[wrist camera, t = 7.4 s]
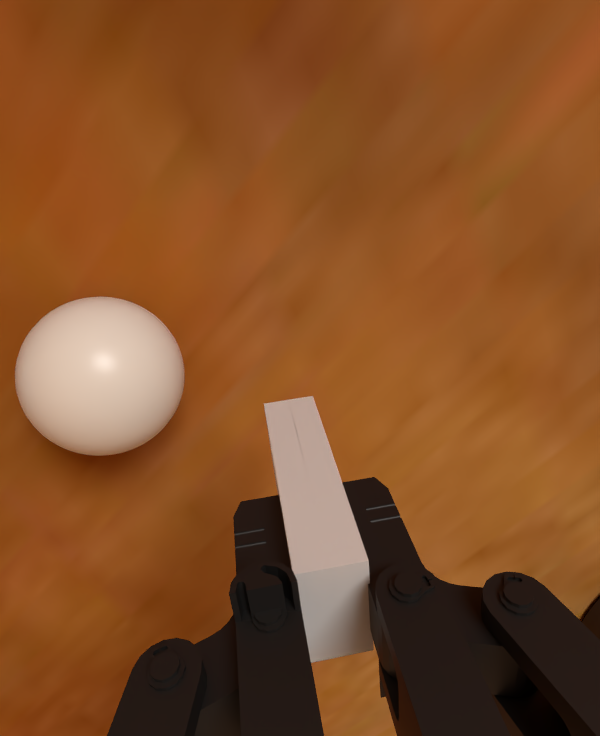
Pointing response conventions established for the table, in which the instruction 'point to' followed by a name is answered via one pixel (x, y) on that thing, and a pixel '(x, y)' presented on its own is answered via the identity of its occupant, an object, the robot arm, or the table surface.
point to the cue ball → (99, 376)
